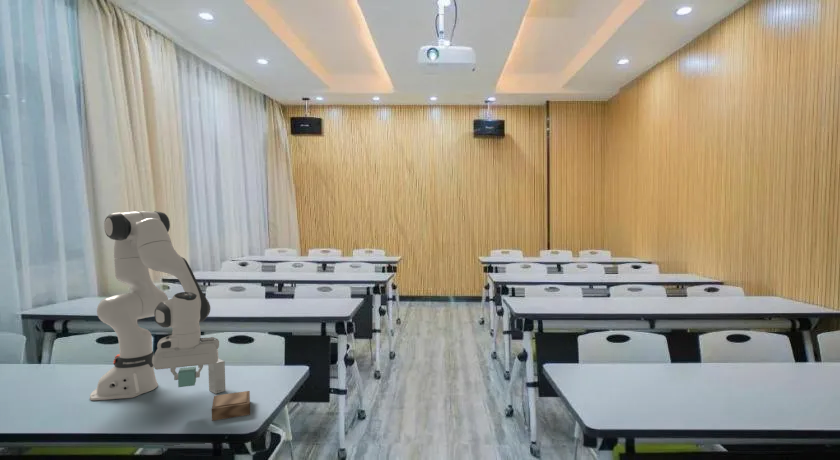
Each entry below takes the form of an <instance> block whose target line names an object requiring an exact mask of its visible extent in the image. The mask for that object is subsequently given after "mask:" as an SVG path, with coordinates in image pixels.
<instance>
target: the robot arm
mask: <svg viewBox="0 0 840 460" xmlns="http://www.w3.org/2000/svg"><path fill="white" fill-rule="evenodd" d="M103 224H104V225H103V226H104V227H103V228H104V233H105V235H106V236H107V238H109V239H110V240H114V246H113V258H114V259H113V260H114V273H115V277H116V279H117V280H118V281H119V282H120V283H123V284H126V285H128V287H129V288H130V292H128V293H127V292H126V293H121V294H115V295H112V296H109V297H106V298H103V299H102V300H100V302H99V303H98V305H97V308H96V314H97V318H98V319H99V320H100V322H102V323H103V324H106V325H107V326H109V327H111V328H112V329H113V331H114V332H115V334H116V336H117V340H118V348H119V349H118V350H119V354H116V355H115V356H114V359H113V367H111V368H110V369H109V370H108V371H107V372H106V373H105V374H103V375H102V376H101V377H100V378H99V379H98V382H97V386H96V388H95V389H94V390H93V391H92V392H91V393H90V395H89V399H90V401H106V400H115V399H116V400H117V399H119V400H120V399H132V398H136V397H138V396H140V395H142V394H146V393H149V392H150V391H153V390H155V389H157V388H158V386H159V382H158V381H157V380H158V379H157V378H156V375H155V374H156V373H155V370H165V369H167V370H168V369H170V370H169V371H170V372H171V374H172V375H173V377H174V378H173V379H174V381H178V373H177V371H176V369H177V368H187V367H198V370H196V372H195V378H196V379H197V378H200V376H201V372H202V370H203V367H204V366H206V365H208V364H215V363H217V361H218V358H219V350H218V349H219V347H220V340H219V339H218V338H216V337H215V336H211V337H201V335H202V334H201V326H200V323H203V322H204V321H205V320H206V319H207V318H208V316H209V315H210V312H211V303H210V302H209V300H208V299H207V297H206V295H205V294H204V293H203V291H202V289H201V287H200V285H199V283H198V280H197V279H196V276H195V274H194V272H193V270H192V269H191V267H190V265H189V262H188V261H187V259H186V258H184V257H183V256H181V255H179V254H178V252H177V251H176V249H174V246H173V244H172V240H171V238H170V234H169V230H170V228H171V223H170V218H169V217H168V215H167V214H166V213H165V212H162V211H157V210H155V211H147V210H136V211H124V212H119V211H118V212H113V213H112V212H111V213H109V214H108V215H107V216H106V218H105V220H104V223H103ZM149 269H150V270H152V271H155V272H159V273H164V274H169V275H171V276H173V277H175V278H177V280H178V281H179V282H180V284H181V287H182V289H183V292H177V293H176V294H174V295H173V296H172V297H171V298H170V299H169V298H168V297H169V296H168V295H167V294H166V292H165V291H163V290H161V289H160V288H159V287H157V286H156V284H155V283H154V282H153V280H152V278H151V275H150V272H149V271H150V270H149ZM151 317H154V321H155V323H156V324H157V325H158V326H160V327H162V328H172V332H171V334H170V335H167V336H165V337H162V338H160V339H159V340H158V342H157V345H156V347H157V349H156V350H155V352H154V351H153V339H152V338H153V336H152V333H151V332H150V330H148V329H147V328H144V327H140V326H139V324H138V321H139V320H141V319H145V318H146V319H147V318H151Z"/></svg>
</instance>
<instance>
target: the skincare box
mask: <svg viewBox="0 0 840 460" xmlns="http://www.w3.org/2000/svg"><path fill="white" fill-rule="evenodd" d="M207 365H208V369H207V370H208V391H210V392H211V393H212V394H215V395H218V394H219V393H223V392H226V361H225V360H223V359H221V358H219V357H218V361H217V363H215V364H207Z"/></svg>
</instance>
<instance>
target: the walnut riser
mask: <svg viewBox="0 0 840 460" xmlns="http://www.w3.org/2000/svg"><path fill="white" fill-rule="evenodd" d="M250 394H251V392H250V390H245V391H238V392H231V393H225V394H215V395H213V400H212V405H211V421H212V422H213V421H218V420H226V419H232V418H238V417H243V416H251V395H250Z"/></svg>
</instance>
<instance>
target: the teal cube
mask: <svg viewBox="0 0 840 460" xmlns="http://www.w3.org/2000/svg"><path fill="white" fill-rule="evenodd" d="M196 371H197V366H187V367H179V370H178V380H177V381H178V382H177V383H178V384H177V385H178V386H177V387H178V388H185V387H192V386H195V385H196V382H197V378H195V372H196Z"/></svg>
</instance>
